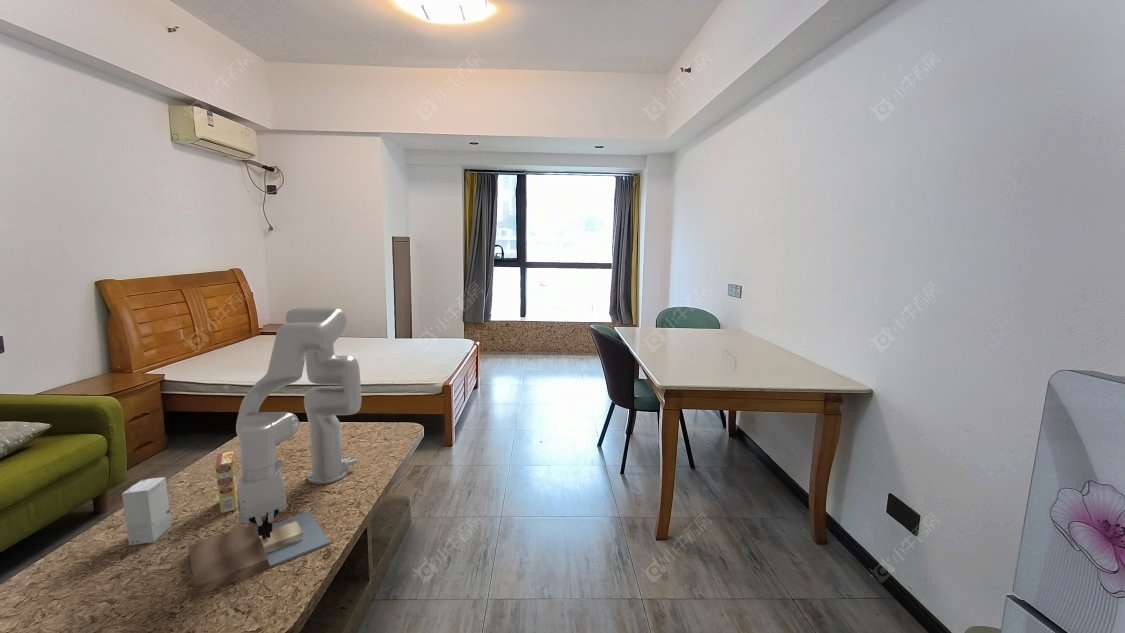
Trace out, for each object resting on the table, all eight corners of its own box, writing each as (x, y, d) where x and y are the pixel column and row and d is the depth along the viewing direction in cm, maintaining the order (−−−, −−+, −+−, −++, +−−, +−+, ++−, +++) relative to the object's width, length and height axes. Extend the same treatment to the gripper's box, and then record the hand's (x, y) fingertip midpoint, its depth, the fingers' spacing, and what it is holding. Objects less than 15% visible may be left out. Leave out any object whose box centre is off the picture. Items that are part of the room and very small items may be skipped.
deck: (254, 532, 126) (253, 524, 126) (268, 568, 113) (267, 559, 112) (189, 554, 117) (188, 545, 117) (196, 596, 103) (195, 586, 103)
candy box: (237, 509, 137) (232, 461, 135) (219, 514, 135) (214, 465, 133) (238, 496, 145) (234, 450, 142) (221, 500, 142) (217, 453, 140)
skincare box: (153, 543, 121) (147, 491, 119) (127, 546, 120) (119, 493, 118) (172, 525, 129) (167, 475, 127) (147, 527, 128) (141, 477, 126)
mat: (310, 513, 136) (309, 511, 136) (329, 544, 122) (329, 542, 122) (255, 532, 127) (255, 530, 127) (270, 567, 113) (269, 565, 113)
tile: (296, 527, 128) (296, 521, 128) (303, 539, 123) (302, 532, 123) (258, 541, 122) (258, 534, 122) (264, 553, 117) (263, 546, 117)
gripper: (289, 456, 125) (294, 518, 128) (222, 474, 115) (228, 541, 118) (296, 466, 120) (301, 531, 122) (226, 486, 110) (233, 555, 112)
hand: (265, 535), depth 120 cm, fingers closed
